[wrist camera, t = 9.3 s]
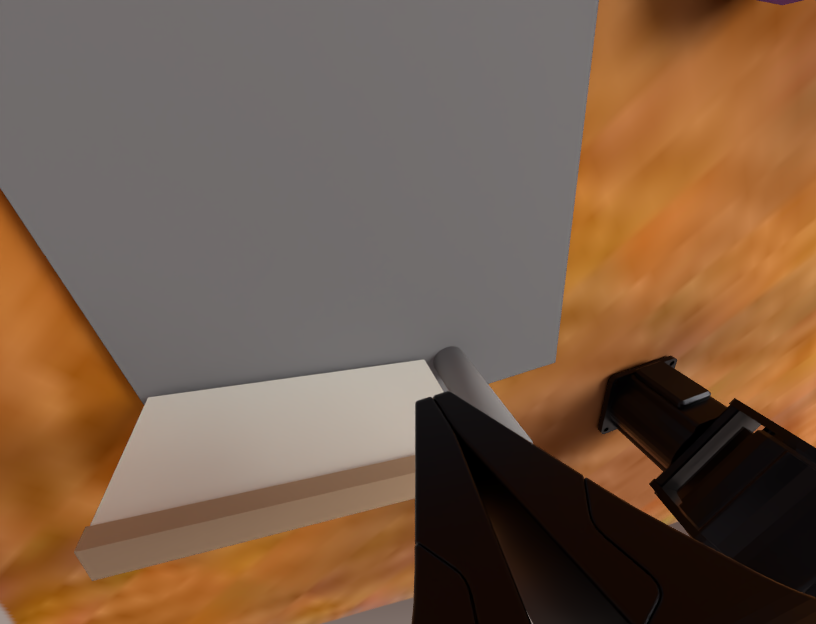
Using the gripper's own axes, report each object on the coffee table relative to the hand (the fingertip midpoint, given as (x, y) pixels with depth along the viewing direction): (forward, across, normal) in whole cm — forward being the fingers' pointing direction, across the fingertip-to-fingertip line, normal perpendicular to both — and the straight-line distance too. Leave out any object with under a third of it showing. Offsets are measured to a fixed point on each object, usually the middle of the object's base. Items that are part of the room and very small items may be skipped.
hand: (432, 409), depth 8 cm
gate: (+11, +4, +6) cm, 13 cm away
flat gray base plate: (+12, 0, 0) cm, 12 cm away
